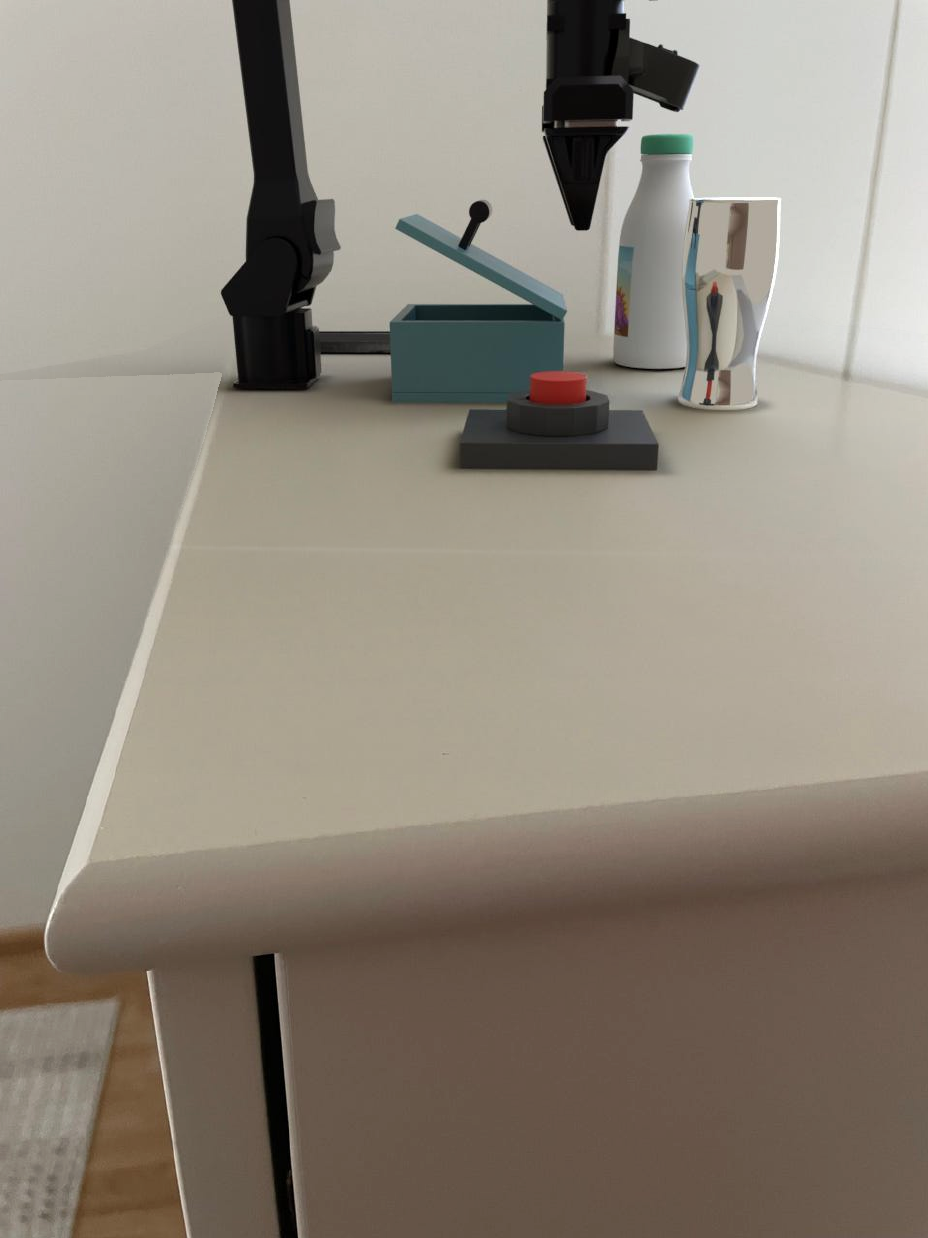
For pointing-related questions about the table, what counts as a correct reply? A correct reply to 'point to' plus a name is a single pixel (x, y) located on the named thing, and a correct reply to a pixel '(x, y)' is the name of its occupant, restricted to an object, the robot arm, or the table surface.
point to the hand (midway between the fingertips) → (579, 227)
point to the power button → (558, 387)
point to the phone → (354, 341)
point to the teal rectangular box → (471, 351)
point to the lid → (482, 258)
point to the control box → (558, 436)
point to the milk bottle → (654, 259)
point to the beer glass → (726, 297)
